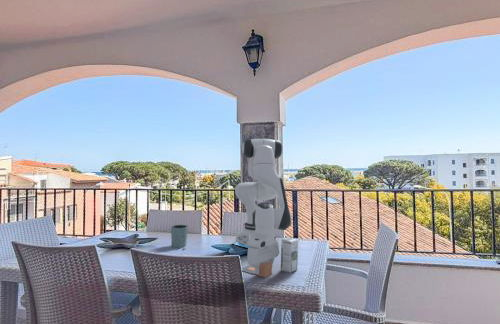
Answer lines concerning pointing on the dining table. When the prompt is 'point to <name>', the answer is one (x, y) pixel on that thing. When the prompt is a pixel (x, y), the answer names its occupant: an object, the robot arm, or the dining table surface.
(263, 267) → the terracotta block
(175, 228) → the green cup
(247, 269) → the board
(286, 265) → the syrup box
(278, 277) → the dining table surface
